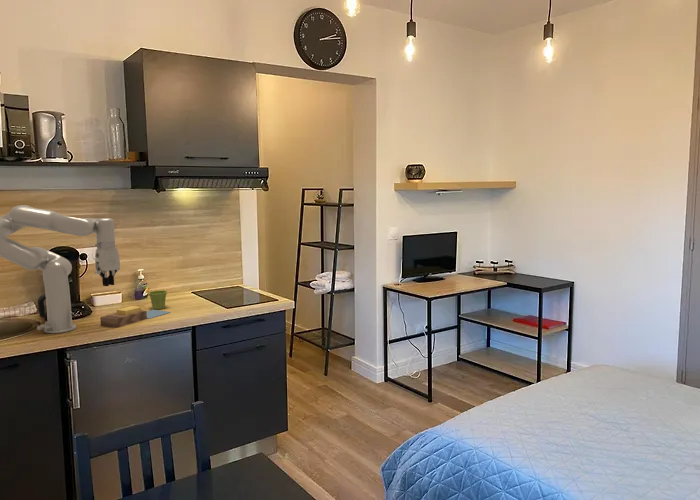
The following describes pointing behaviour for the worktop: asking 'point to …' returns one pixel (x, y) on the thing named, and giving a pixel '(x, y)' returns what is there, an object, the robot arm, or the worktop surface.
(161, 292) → the plant pot
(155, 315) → the mat
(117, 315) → the brown flat block
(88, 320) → the worktop surface
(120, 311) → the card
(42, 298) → the milk frother
